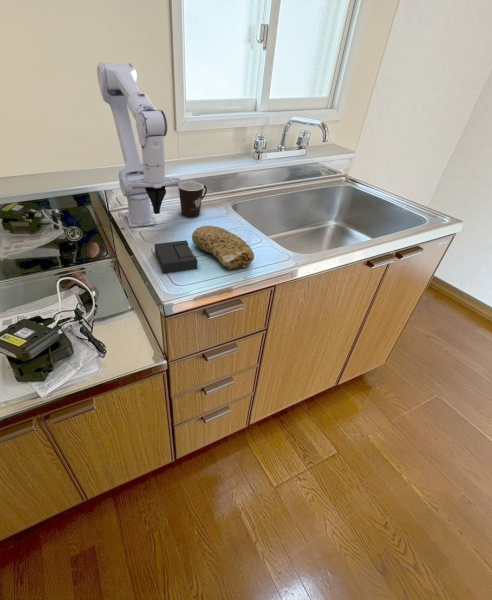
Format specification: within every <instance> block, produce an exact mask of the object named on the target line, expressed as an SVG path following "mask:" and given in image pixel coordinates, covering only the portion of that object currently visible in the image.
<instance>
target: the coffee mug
mask: <svg viewBox="0 0 492 600" xmlns="http://www.w3.org/2000/svg"><path fill="white" fill-rule="evenodd" d="M204 189H205V191H204ZM207 192H208V187H207V186H206V185H204V184H203V183H200V182H195V181H185V182H181V187H178V195H179V203H180V210H181V211H180V213H181V215H182V216H183V217H185V218H188V219H189V218H190V219H193V218H197V217H199V216H200V212H201V207H202V200H203V199H204V198H205V196H206V195H207Z"/></svg>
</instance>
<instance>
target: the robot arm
mask: <svg viewBox="0 0 492 600" xmlns="http://www.w3.org/2000/svg"><path fill="white" fill-rule="evenodd" d="M96 66H97V67H96V76H97V82H98V86H99V90H100V94H101V98H102V100H103V102H105V103H107V104H108V105H109V107H110V110H111V113H112V118H113V121H114V125H115V130H116V133H117V137H118V141H119V145H120V149H121V153H122V157H123V161H124V164H123V166H122V167H121V168H120V169H119V171H118V175H117V176H118V181H119V182H118V183H119V187H120V188H119V189H120V191H121V194H122V195H123V196H124V197H125V198H126V200H127V201H126V203H127V211H128V213H127V214H126V219H127V221H128V224H129V227H130V228H136V227H137V228H138V227H146V226H147V227H149V226H155V221H154V220H153V218H152V212H151V211H153V214H154V215H159V214H160V212H161V207H162V203H163V201H164V198H165V197H166V194H167V189H166V188H172V187H173V188H174V187H177V188H179V187H181V183H182V179H181V177H166V162H165V159H166V158H165V137H166V136H167V135H168V128H169V127H168V119H167V116H166V113H165V112H164V110H163V109H159V108H156V107H155V106H154V104H153V102H152V101H151V99H150V97H149V96H148V95H147V93H146V92H145V91H144V90H140V88H139V85H138V74H137V70H136V68H135V66H134V64H133V63H131V62H130V63H129V62H128V63H112V62H111V63H107V62H106V63H105V62H99V63H98V64H97V65H96ZM130 113H131V115H130ZM131 116H132V117H133V119H134V120H135V129H136V132H137V136H138V142H139V145H140V147H141V159H140V153H139V150H138V145H137V141H136V137H135V133H134V129H133V124H132V120H131V119H132V118H131ZM141 160H142V162H141ZM151 206H152V210H151Z"/></svg>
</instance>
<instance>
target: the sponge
mask: <svg viewBox="0 0 492 600" xmlns="http://www.w3.org/2000/svg"><path fill="white" fill-rule="evenodd" d="M191 241H192V243H193V244H194V245H195V246H196V247H197V248H199V249H200V250H202V251H204V252H206V253H208V254H212V255H213V256H214V257H215V258H217V260H218V261H219V262H220V263H221V265H223V266H224V267H226V268H228V269H229V270H230V269H231V270H232V269H237V268H248V267H249V266H251V263H252V262H253V261H254V260H255V252H254V251H253V250H252V248H251V247H250V245H249V244H247V242H246V241H245V240H243V238H241V237H240V236H238V234H235V233H232V232H230V231H229V230H226V229H225V228H223V227H220V226H214V225H204V226H203V225H202V226H200V227H196V228H195V230H194V231H193V232H192V234H191ZM228 269H227V270H228Z"/></svg>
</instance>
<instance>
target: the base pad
mask: <svg viewBox="0 0 492 600" xmlns="http://www.w3.org/2000/svg"><path fill="white" fill-rule="evenodd" d="M186 244H188V245H189V242H188V240H187V239H185V240H176V241H167V242H159V243H154V254H155V257H156V259H157V262H158V264H159V267H160V269H161V272H162V274H170V273H177V272H184V271H191V270H197V269H198V258H197V256H196V255H194V256H191V257H183V258H179V257H178V255H177V253H176V251H175V249H174V246H177V245H186Z"/></svg>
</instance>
